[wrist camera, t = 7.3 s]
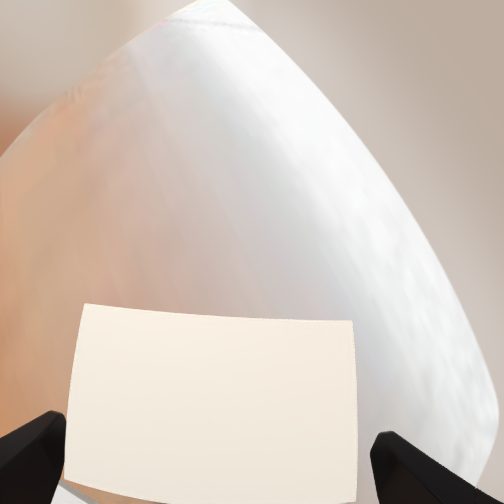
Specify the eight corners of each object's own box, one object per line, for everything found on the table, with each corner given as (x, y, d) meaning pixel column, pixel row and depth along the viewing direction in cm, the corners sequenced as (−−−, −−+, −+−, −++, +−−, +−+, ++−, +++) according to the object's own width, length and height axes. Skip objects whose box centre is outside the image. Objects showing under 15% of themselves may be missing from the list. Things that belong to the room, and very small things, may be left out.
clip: (264, 446, 14) (356, 500, 3) (178, 441, 14) (64, 479, 3) (265, 392, 16) (352, 320, 5) (181, 387, 16) (84, 303, 5)
